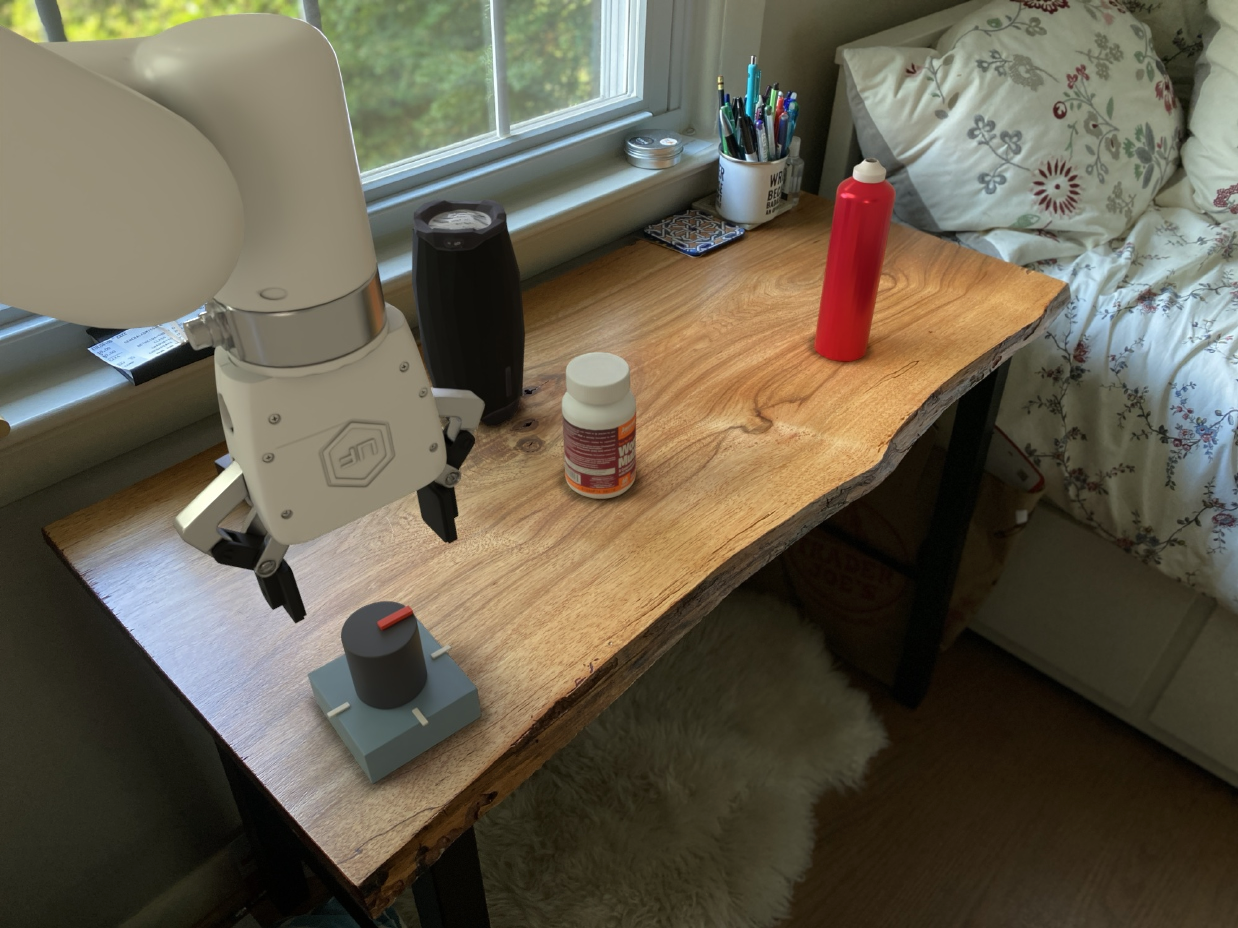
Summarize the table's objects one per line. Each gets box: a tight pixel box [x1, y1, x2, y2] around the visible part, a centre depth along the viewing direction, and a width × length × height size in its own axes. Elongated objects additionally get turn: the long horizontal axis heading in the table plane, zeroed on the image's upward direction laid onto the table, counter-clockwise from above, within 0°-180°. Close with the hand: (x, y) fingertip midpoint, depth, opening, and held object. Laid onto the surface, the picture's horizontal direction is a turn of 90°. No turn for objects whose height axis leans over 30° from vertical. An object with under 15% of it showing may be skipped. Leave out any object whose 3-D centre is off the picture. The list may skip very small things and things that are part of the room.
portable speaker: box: [411, 198, 526, 427], centre depth 84 cm, size 9×9×20 cm
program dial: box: [340, 600, 427, 709], centre depth 59 cm, size 5×5×5 cm
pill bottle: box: [561, 351, 637, 500], centre depth 78 cm, size 6×6×11 cm
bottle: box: [813, 157, 897, 362], centre depth 92 cm, size 6×6×20 cm
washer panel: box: [307, 615, 482, 784], centre depth 61 cm, size 9×9×3 cm
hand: (368, 566), depth 54 cm, fingers open, 9 cm apart
